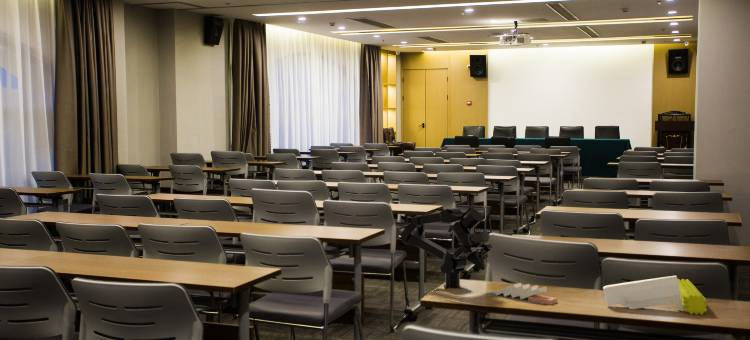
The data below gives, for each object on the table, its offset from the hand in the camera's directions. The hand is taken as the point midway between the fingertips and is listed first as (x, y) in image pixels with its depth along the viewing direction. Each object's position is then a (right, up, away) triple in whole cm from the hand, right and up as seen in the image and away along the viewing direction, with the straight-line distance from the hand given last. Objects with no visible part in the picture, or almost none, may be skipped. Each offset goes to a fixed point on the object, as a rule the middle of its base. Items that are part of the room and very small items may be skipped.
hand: (483, 269), depth 292 cm
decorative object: (+72, -11, -17) cm, 74 cm away
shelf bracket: (+53, -11, -24) cm, 59 cm away
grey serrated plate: (+11, -10, -8) cm, 17 cm away
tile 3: (+11, -9, -8) cm, 16 cm away
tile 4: (+13, -9, -10) cm, 19 cm away
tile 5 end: (+16, -9, -13) cm, 22 cm away
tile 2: (+8, -8, -5) cm, 13 cm away
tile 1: (+5, -8, -3) cm, 10 cm away
